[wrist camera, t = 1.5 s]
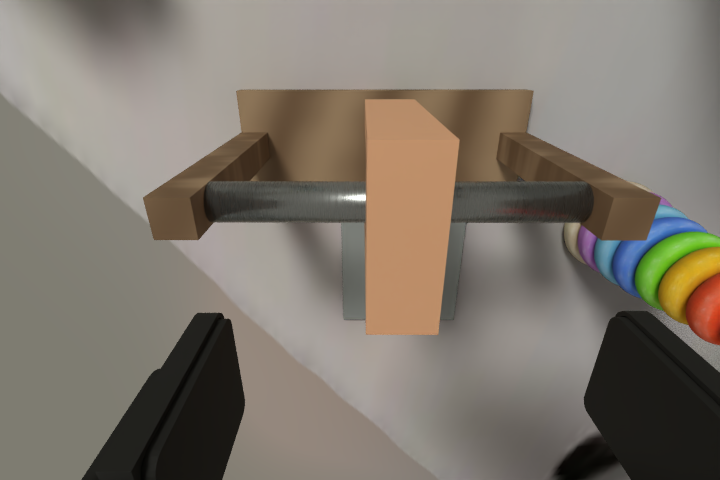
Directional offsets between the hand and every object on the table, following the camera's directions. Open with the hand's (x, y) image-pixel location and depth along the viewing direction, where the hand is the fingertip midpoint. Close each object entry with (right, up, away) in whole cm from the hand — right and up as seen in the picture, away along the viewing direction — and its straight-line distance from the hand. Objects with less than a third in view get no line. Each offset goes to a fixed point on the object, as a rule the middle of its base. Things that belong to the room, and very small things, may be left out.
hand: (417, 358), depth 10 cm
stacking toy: (+20, +5, +25) cm, 33 cm away
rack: (0, +11, +22) cm, 24 cm away
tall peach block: (0, +8, +15) cm, 17 cm away
